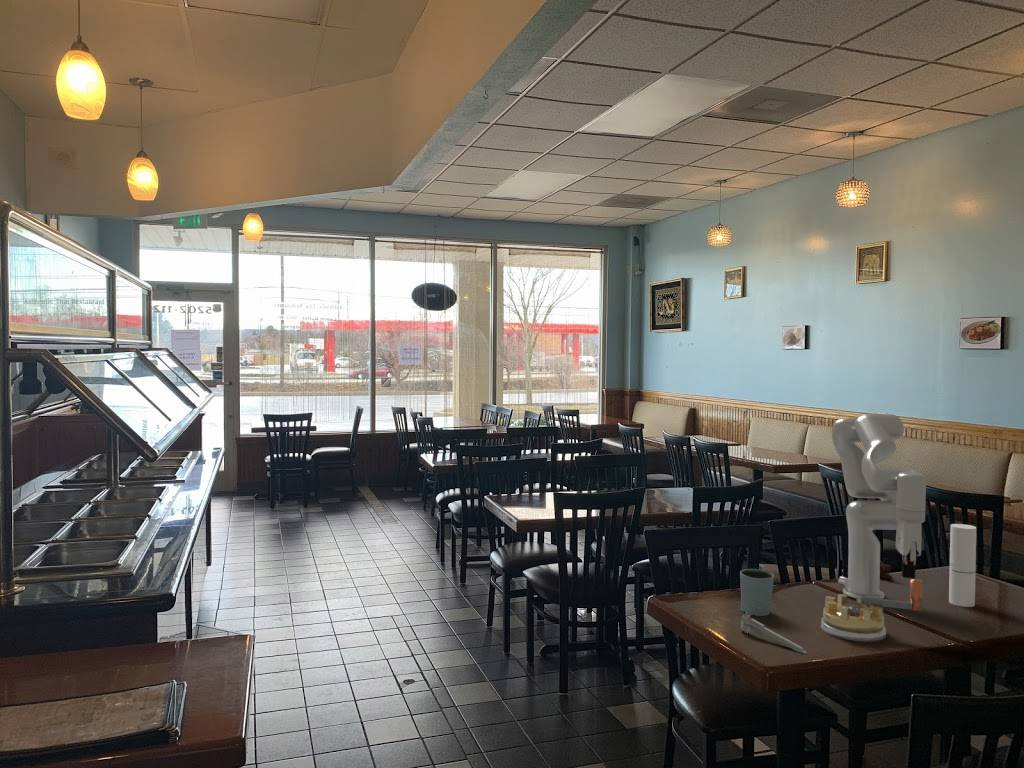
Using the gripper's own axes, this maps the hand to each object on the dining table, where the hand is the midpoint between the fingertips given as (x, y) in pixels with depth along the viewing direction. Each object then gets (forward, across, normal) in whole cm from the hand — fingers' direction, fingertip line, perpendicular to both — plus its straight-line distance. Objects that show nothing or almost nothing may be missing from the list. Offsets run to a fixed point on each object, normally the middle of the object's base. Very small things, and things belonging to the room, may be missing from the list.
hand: (908, 577), depth 219 cm
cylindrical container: (+16, -29, +23) cm, 40 cm away
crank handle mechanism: (+12, +8, -12) cm, 19 cm away
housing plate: (+15, +8, -16) cm, 23 cm away
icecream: (+16, -56, +2) cm, 58 cm away
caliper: (+15, +23, -39) cm, 48 cm away
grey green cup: (+15, -2, -42) cm, 45 cm away
